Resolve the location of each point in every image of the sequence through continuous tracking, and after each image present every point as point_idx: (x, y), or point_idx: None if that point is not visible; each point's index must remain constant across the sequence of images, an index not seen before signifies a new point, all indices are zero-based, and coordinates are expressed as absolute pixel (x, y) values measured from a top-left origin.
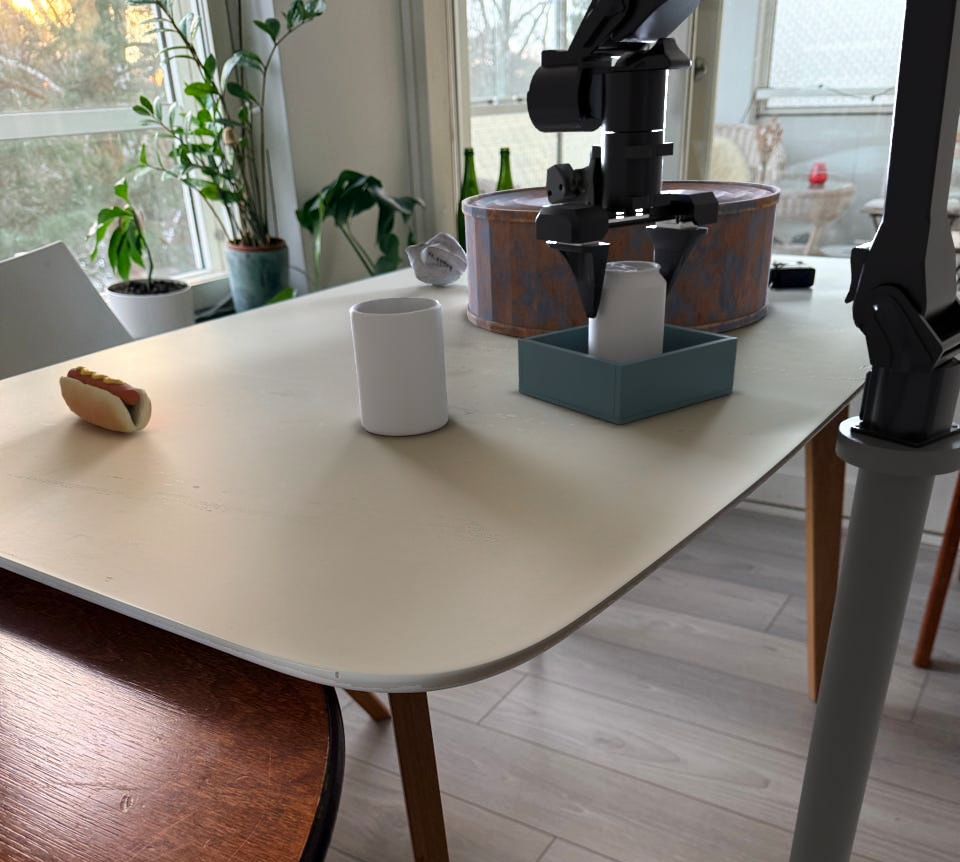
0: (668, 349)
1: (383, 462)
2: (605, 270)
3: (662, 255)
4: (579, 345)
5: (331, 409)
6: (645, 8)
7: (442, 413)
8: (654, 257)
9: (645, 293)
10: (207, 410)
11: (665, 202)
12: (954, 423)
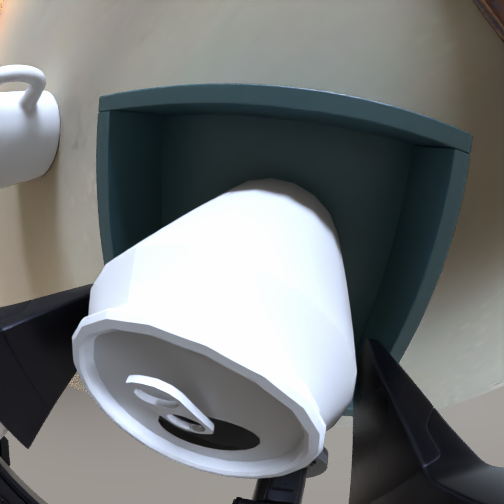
0: (401, 274)
1: (13, 212)
2: (81, 379)
3: (386, 473)
4: (273, 111)
5: (33, 53)
6: None
7: (36, 175)
8: (409, 442)
9: (183, 420)
10: (13, 20)
11: None
12: (317, 474)
